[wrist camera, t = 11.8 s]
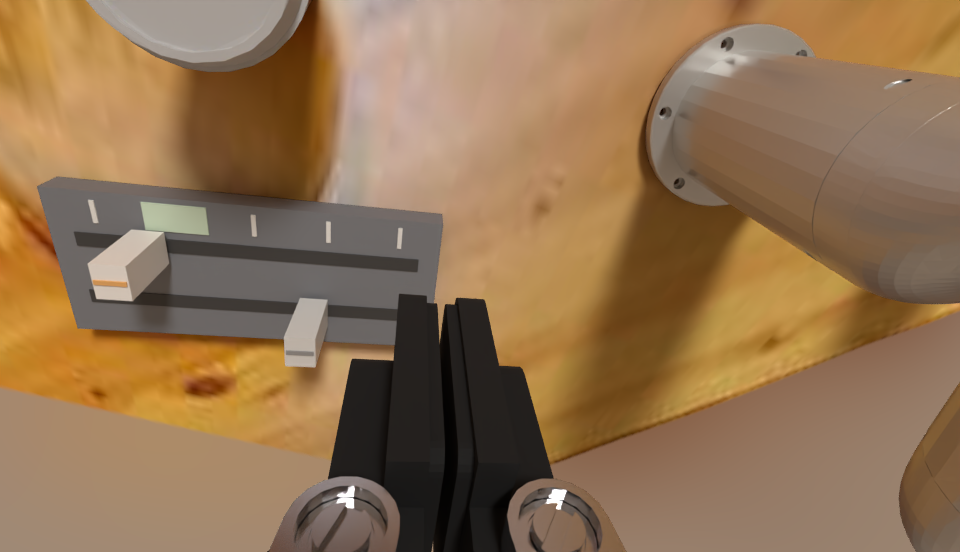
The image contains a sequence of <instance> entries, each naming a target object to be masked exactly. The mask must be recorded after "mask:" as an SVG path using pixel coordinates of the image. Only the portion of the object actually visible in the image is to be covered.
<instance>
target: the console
mask: <svg viewBox="0 0 960 552" xmlns="http://www.w3.org/2000/svg"><path fill="white" fill-rule="evenodd" d="M37 188H38V192H39V195H40V199H41V202H42V206H43V209H44V212H45V216H46V219H47V223H48V226H49V230H50V233H51V237H52V240H53V244H54V247H55V251H56V254H57V258H58V261H59V265H60V268H61V272H62V275H63V279H64V282H65V286H66V289H67V292H68V296H69V299H70V303H71V306H72V310H73V313H74V317H75V320H76V324H77V327H78V328H81V329H100V330H119V331H137V332H156V333H175V334H193V335H212V336H231V337H249V338H268V339H284V336H285V333H286V331H287V328H288V326H289V324H290V321H291V319H292V316H293V314H294V311H295V309H296V306H297V304H298V302H299V299H300V298H309V299H324V300H328V327H327V330H326V334H325V337H324V342H343V343H361V344H380V345H395V336H396V324H397V311H398V298H399V294H412V295H426V296H427V303H434V297H435V288H436V280H437V271H438V263H439V255H440V246H441V238H442V229H443V219H442V214H436V213H425V212H415V211H405V210H394V209H384V208H374V207H364V206H353V205H343V204H333V203H323V202H312V201H302V200H292V199H281V198H271V197H261V196H251V195H240V194H230V193H220V192H210V191H199V190H189V189H179V188H168V187H158V186H148V185H138V184H127V183H117V182H107V181H96V180H86V179H76V178H66V177H55V178H53V179H51V180H49V181H47V182H45V183H43V184H41V185H39V186H37ZM131 229H132V230H144V231H156V232H164V235H165V241H166V247H167V253H168V259H169V264H168V265H167V266H166V268H165V269H164V270H163V271H162V272H161V273H160V274H159V275H158V276H157V277H156V278H155V279H154V280H153V281H152V282H151V283H150V284H149V285H148V286H147V287H146V288H145V289H144V290H143V291H142V292H141V293H140V294H139V295H138V296H137V297H136V298H135V299H134V301H121V300H105V299H96V295H95V291H94V287H93V284H92V280H91V276H90V272H89V268H88V263H89V262H90V261H92V260H93V259H94V258H96V257H97V256H98V255H99V254H101V253H102V252H103V251H104V250H106V249H107V248H108V247H110V246H111V245H112V244H113V243H115V242H116V241H117V240H119V239H120V238H121V237H122V236H124V235H125V234H126V233H128V232H129V231H130V230H131Z"/></svg>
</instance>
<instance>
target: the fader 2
mask: <svg viewBox="0 0 960 552" xmlns="http://www.w3.org/2000/svg"><path fill="white" fill-rule="evenodd" d="M327 327H328V300H324V299H309V298H300V299H299V302H298V304H297V306H296V309H295V311H294V314H293V316H292V319H291V321H290V324H289V326H288V328H287V331H286V333H285V336H284V351H285V366H295V367H316V365H317V361H318V358H319V354H320V351H321V347H322V344H323V341H324V337H325V334H326V330H327Z"/></svg>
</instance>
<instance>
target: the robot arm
mask: <svg viewBox="0 0 960 552" xmlns="http://www.w3.org/2000/svg"><path fill="white" fill-rule="evenodd" d="M722 41H723V45H722V46H721V43H722ZM662 108H663V112H662V113H661V114H660V111H661V109H662ZM646 149H647V154H648V158H649V162H650V165H651V167H652V169H653V171H654V173H655V175H656V176H657V178H658V179H659V180H660V182H661V183H662V184H663V185H664V186H665V187H666V188H667V189H669V190H670V191H671V192H672V193H673V194H675V195H677V196H678V197H680V198H681V199H683V200H685V201H688V202H691V203H694V204H697V205H704V206H722V205H729V204H730V205H732V206H733V207H735V208H736V209H738V210H740V211H741V212H743V213H744V214H746V215H747V216H749V217H750V218H752V219H753V220H755V221H756V222H758V223H760V224H761V225H763V226H764V227H766V228H767V229H769V230H770V231H772V232H773V233H775V234H776V235H778V236H780V237H781V238H783V239H784V240H786V241H787V242H789V243H790V244H792V245H793V246H795V247H796V248H798V249H800V250H801V251H803V252H804V253H806V254H807V255H809V256H810V257H812V258H813V259H815V260H816V261H818V262H820V263H821V264H823V265H825V266H826V267H828V268H829V269H831V270H833V271H834V272H836V273H837V274H839V275H840V276H842V277H844V278H845V279H847V280H848V281H850V282H851V283H853V284H855V285H857V286H858V287H860V288H862V289H864V290H866V291H868V292H871V293H873V294H876V295H878V296H881V297H884V298H888V299H892V300H897V301H901V302H906V303H917V304H952V303H960V77H953V76H945V75H938V74H931V73H923V72H916V71H909V70H901V69H894V68H887V67H879V66H872V65H865V64H857V63H850V62H843V61H835V60H828V59H821V58H816V56H815V54H814V52H813V50H812V49H811V48H810V47H809V46H808V44H807V43H806V42H805V41H804V40H803V39H802V38H801V37H799V36H798V35H796V34H795V33H793V32H791V31H790V30H788V29H785V28H781V27H778V26H775V25H768V24H742V25H737V26H733V27H730V28H726V29H723V30H721V31H718V32H716V33H714V34H712V35H710V36H708V37H706V38H705V39H703V40H702V41H700V42H699V43H698V44H696V45H695V46H693V47H692V48H691V49H689V50H688V51H687V52H686V53H685V54H684V55H683V56H682V57H681V58H680V59H679V60H678V61H677V62H676V63H675V64H674V66H673V67H672V68H671V70H670V71H669V72H668V74H667V75H666V76H665V78H664V79H663V81H662V83H661V85H660V87H659V89H658V90H657V92H656V94H655V96H654V99H653V102H652V105H651V108H650V111H649V114H648V120H647V126H646ZM676 179H677V180H676ZM675 180H676V181H675ZM674 181H675V182H674ZM899 507H900V515H901V519H902V523H903V526H904V528H905V531H906V533H907V536H908V538H909V540H910V542H911V544H912V546H913V547H914V549H915V551H916V552H960V383H959V384H958V385H957V387H956V388H955V390H954V391H953V393H952V394H951V396H950V397H949V399H948V400H947V402H946V403H945V405H944V406H943V408H942V409H941V411H940V412H939V414H938V415H937V416H936V418H935V419H934V421H933V423H932V424H931V425H930V427H929V428H928V430H927V432H926V434H925V435H924V437H923V439H922V440H921V442H920V443H919V445H918V446H917V448H916V450H915V451H914V453H913V455H912V457H911V459H910V461H909V462H908V464H907V466H906V469H905V471H904V474H903V477H902V480H901V484H900V491H899ZM432 544H433V552H626V550H625V548H624V546H623V544H622V542H621V540H620V538H619V536H618V535H617V533H616V531H615V529H614V527H613V525H612V523H611V521H610V519H609V517H608V516H607V514H606V513H605V512H604V510H603V508H602V507H601V505H600V504H599V503H598V502H597V501H596V500H595V499H594V498H593V497H592V496H591V495H590V494H588V493H587V492H586V491H585V490H583V489H581V488H579V487H577V486H576V485H574V484H572V483H569V482H566V481H562V480H558V479H554V478H553V475H552V472H551V468H550V464H549V460H548V457H547V453H546V450H545V446H544V442H543V439H542V435H541V432H540V428H539V424H538V421H537V417H536V414H535V410H534V407H533V403H532V399H531V396H530V392H529V389H528V385H527V382H526V378H525V374H524V372H523V369H522V368H521V367H512V366H499V363H498V359H497V354H496V349H495V345H494V340H493V335H492V331H491V326H490V322H489V317H488V312H487V308H486V303H485V300H483V299H469V298H456V301H455V305H451V304H446V305H445V308H444V315H443V323H442V330H441V338H440V344H439V326H438V308H437V304H436V303H427V296H426V295H412V294H399V298H398V311H397V324H396V336H395V349H394V361H389V360H368V359H352V361H351V364H350V369H349V374H348V379H347V384H346V390H345V395H344V400H343V405H342V410H341V415H340V420H339V425H338V430H337V436H336V441H335V446H334V451H333V456H332V461H331V466H330V472H329V476H328V480H324V481H322V482H320V483H318V484H316V485H314V486H312V487H310V488H309V489H307V490H306V491H305V492H304V493H302V494H301V495H300V496H299V497H298V498H297V499H296V500H295V501H294V502H293V503H292V505H291V507H290V508H289V510H288V511H287V513H286V514H285V516H284V518H283V520H282V523H281V525H280V527H279V530H278V532H277V534H276V536H275V538H274V541H273V543H272V545H271V547H270V550H269V551H267V552H431V551H432Z"/></svg>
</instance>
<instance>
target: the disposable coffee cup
mask: <svg viewBox="0 0 960 552" xmlns="http://www.w3.org/2000/svg"><path fill="white" fill-rule="evenodd" d="M86 1H87V2H88V3H89V4H90V6H91V7H92V8H93V9H94V10H95V11H96V12H97V13H98V14H99V15H100V16H101V17H102V18H103V19H104V20H105V21H106V22H107V23H108V24H110V25H111V26H112V27H113V28H115V29H116V30H117V31H119V32H120V33H121V34H123V35H124V36H125V37H126V38H128V39H129V40H130V41H131V42H132V43H134V44H136V45H137V46H139V47H141V48H142V49H144V50H145V51H147V52H149V53H150V54H152V55H154V56H155V57H158V58H160V59H163V60H165V61H168V62H170V63H173V64H176V65H178V66H181V67H183V68H187V69H193V70H199V71H205V72H231V71H235V70H239V69H242V68H246V67H250V66H254V65H255V64H257V63H259V62H261V61H263V60H265V59H266V58H268V57H270V56H272V55H274V54H275V53H276V52H277V51H278V50H279V49H280V48H281V47H282V46H283V45H284V44H285V43H286V42H287V41H288V40H289V39H290V38H291V37H292V35H293V34H294V32H295V30H296V29H297V27H298V25H299V23H300V22H301V20H302V18H303V16H304V14H305V11H306V9H307V7H308V6H309V4H310V3H311V1H312V0H86Z"/></svg>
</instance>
